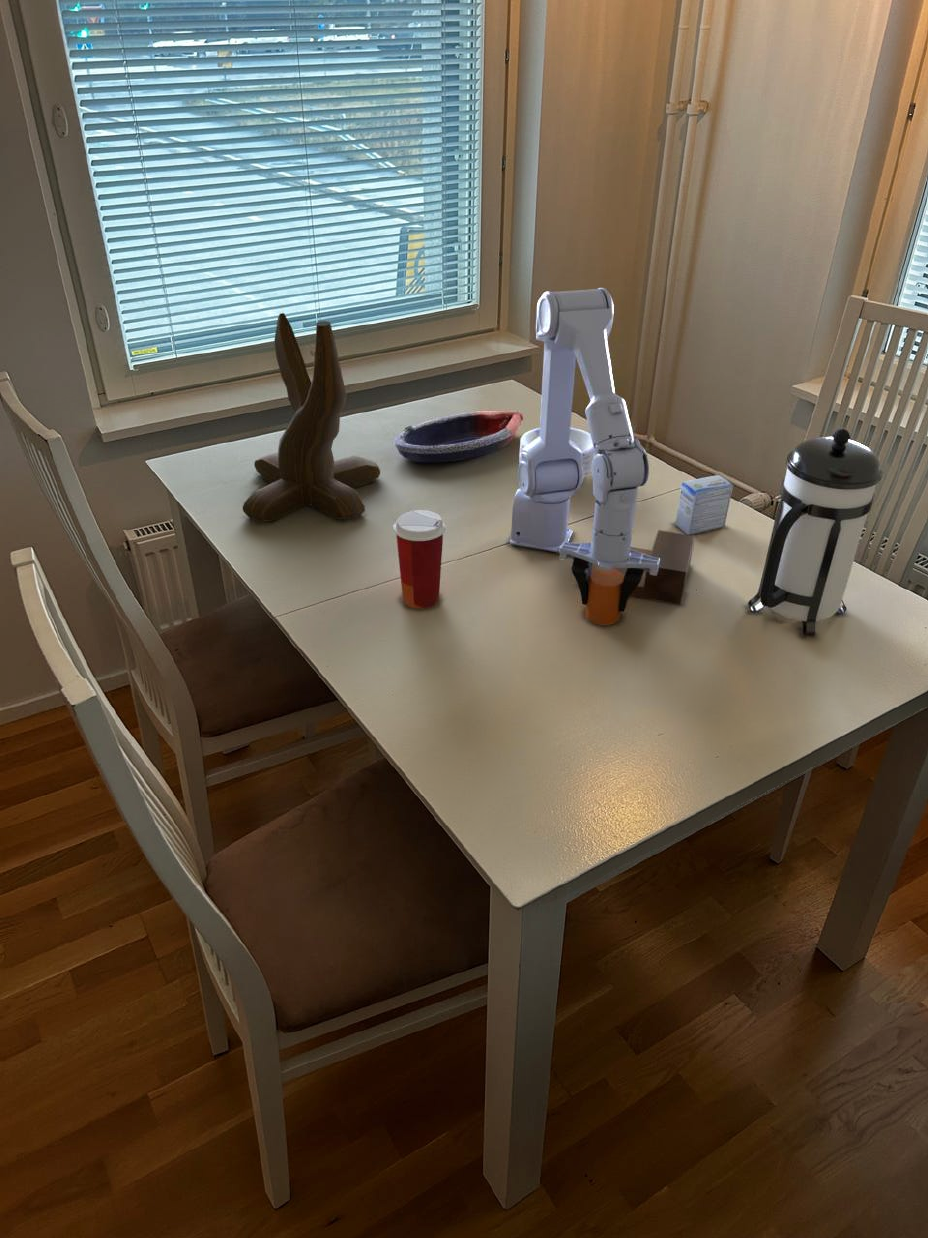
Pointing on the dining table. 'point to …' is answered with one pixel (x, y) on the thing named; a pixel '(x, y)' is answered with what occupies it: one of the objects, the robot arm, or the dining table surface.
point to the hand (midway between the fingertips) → (603, 605)
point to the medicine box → (703, 504)
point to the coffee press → (817, 528)
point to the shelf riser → (665, 568)
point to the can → (604, 596)
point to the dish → (458, 436)
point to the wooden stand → (310, 438)
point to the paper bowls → (576, 436)
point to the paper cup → (420, 556)
